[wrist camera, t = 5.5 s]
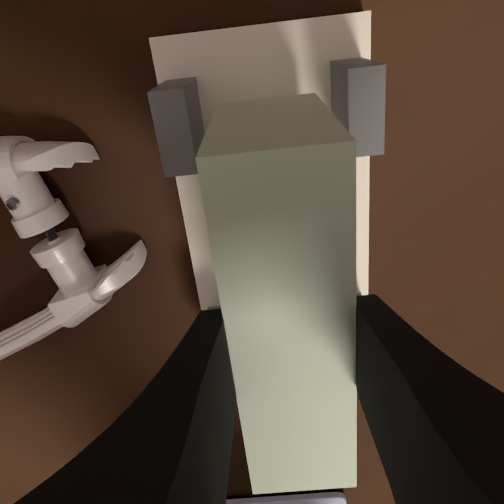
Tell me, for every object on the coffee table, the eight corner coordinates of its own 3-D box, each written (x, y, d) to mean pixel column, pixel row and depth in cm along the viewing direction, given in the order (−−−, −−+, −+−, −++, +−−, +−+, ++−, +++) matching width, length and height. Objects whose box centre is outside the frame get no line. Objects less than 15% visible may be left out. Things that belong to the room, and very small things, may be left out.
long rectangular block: (325, 349, 18) (356, 486, 13) (252, 356, 18) (252, 494, 13) (314, 92, 14) (356, 140, 8) (217, 103, 14) (195, 157, 8)
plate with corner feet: (362, 347, 21) (385, 413, 17) (215, 360, 21) (208, 427, 18) (363, 11, 15) (399, 6, 11) (154, 36, 15) (124, 40, 11)
